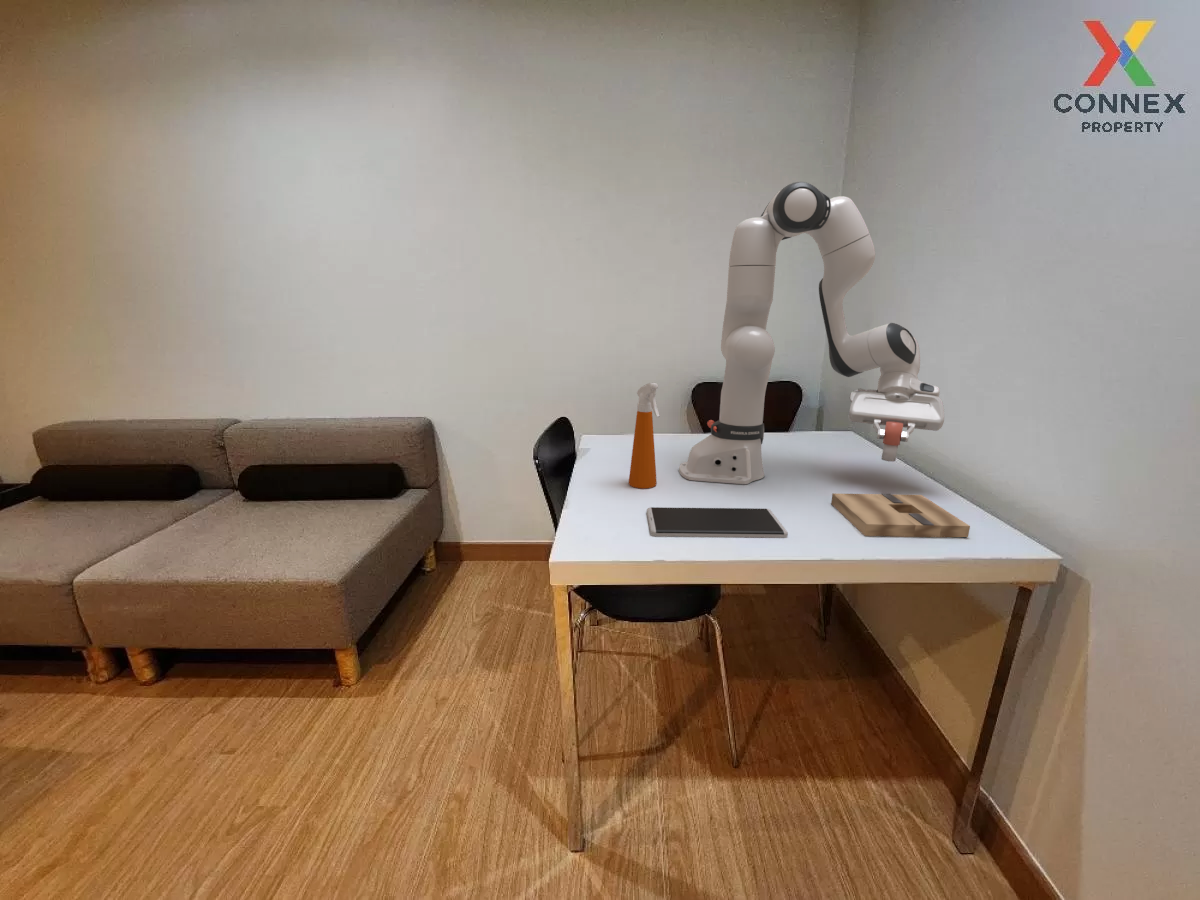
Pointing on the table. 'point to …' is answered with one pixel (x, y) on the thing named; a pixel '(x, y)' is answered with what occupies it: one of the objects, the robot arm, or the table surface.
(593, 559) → the table surface
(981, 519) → the table surface
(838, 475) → the table surface
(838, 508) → the board
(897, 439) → the red white cylinder
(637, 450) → the spray bottle
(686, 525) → the smartphone
